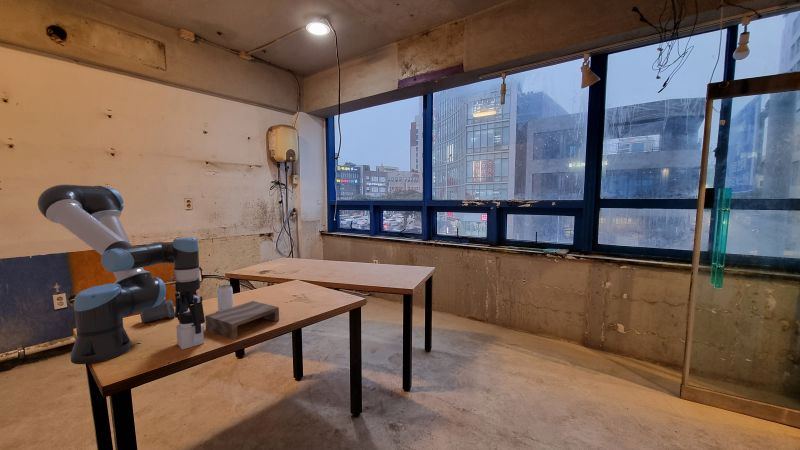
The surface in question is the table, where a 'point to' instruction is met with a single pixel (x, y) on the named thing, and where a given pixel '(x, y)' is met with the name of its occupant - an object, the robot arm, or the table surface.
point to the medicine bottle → (187, 332)
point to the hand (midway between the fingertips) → (190, 339)
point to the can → (225, 297)
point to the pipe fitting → (158, 312)
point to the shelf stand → (239, 317)
